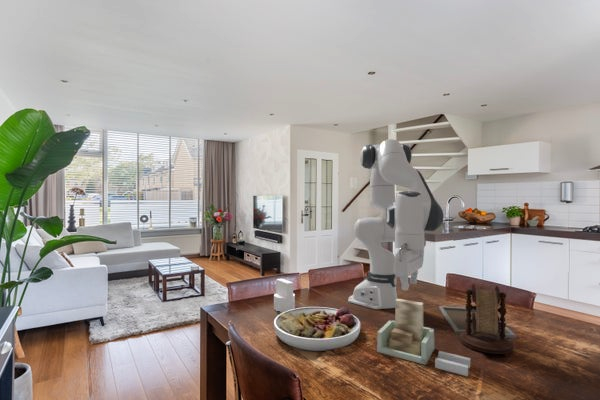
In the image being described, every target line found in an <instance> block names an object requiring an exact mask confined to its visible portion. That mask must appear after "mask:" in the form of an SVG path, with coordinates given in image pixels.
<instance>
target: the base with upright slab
mask: <svg viewBox="0 0 600 400" xmlns="http://www.w3.org/2000/svg"><path fill="white" fill-rule="evenodd" d="M275 287H276V288H275V292H274V294H273V310H274V309H275V310H276V311H275V310H274V311H275V312H277V311H280V312H279V313H283V312H285V311H288V310H292V309H296V302H295V301H296V294H295V293H294V282H293V281H291V280H287V279H284V278H277V279H276V280H275Z"/></svg>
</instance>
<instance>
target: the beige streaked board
mask: <svg viewBox="0 0 600 400" xmlns="http://www.w3.org/2000/svg"><path fill="white" fill-rule="evenodd" d="M394 310H395V313H394V315H395V316H394V319H395V320H394V321H395V328H396V329H400V330H405V331H409V332H414V341H417V342H422V340H423V327H424V302H419V301H414V300H408V299H402V298H397V300H395V309H394Z"/></svg>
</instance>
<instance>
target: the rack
mask: <svg viewBox="0 0 600 400" xmlns="http://www.w3.org/2000/svg"><path fill="white" fill-rule="evenodd" d="M394 328H395V320H393V319H389V320H388V321H387V322H386V323H385V324H384V325H383V326H382V327H380V329H379V330H378V331H377V332H376V335H377V337H376V338H377V341H376V344H377V345H376V346H377V347H376V349H377V350H376V351H377V353H380V354H384V355H387V356H392V357H394V358H398V359H402V360H406V361H410V362H413V363H417V364H421V365H425V366H426V365H427V364H428V362H429V359H430V357H431V356H432V355H433V354H432V353H433V352H434V351H435V328H431V327H427V326H423V340H422V342H421V355H420V356H417V355H413V354H409V353H405V352H401V351H398V350H394V349H390V338H391V331H392V330H393V329H394Z"/></svg>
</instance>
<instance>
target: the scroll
mask: <svg viewBox="0 0 600 400" xmlns="http://www.w3.org/2000/svg"><path fill="white" fill-rule="evenodd" d="M465 295H466V296H465V297H466V301H465V308H466V311H467V314H466V317H467V318H466V320H465V321H466V323H467V324H466V325H467V328H466V331H464V332H462V333H459V341H460V342H461V344H463V345H464V346H466V347H468V349H469V350H475V351H479V352H482V353H487V354H493V355H496V354H497V355H503V356H504V357H505V358H507V357H508V355H509V354H510V353H512V352H513V351H514V347H513V346H514V344H513V343H512V341H511V340H509V338H505V336H506V334H505V332H504V330H505V329H504V328H505V327H507V324H506V318H505V316H506V314H507V308H506V302H505V301H506V299H507V294H506V292H503V291H502V292H500V287H499V286H498V285H495V288H494V290H490V289H489V290H487V289H477V288H476V286H475V284H474V283H472V284H471V288H470V289H466V290H465ZM472 302H473V303H474V304H475V305H472ZM473 309H474V310H476V318H475V313H474V312H473V313H472V319H471V313H470V312H471V310H473ZM499 315H500V316H499ZM500 321H501V322H500ZM471 323H472V327H473V330H471V327H470V326H471ZM500 327H501V328H500ZM500 330H501V331H500Z"/></svg>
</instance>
